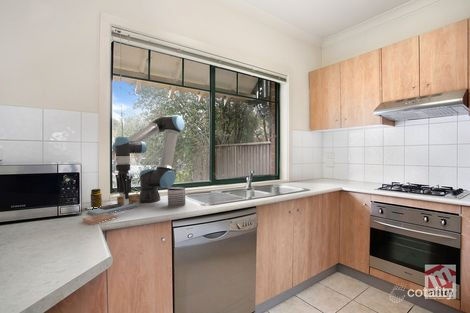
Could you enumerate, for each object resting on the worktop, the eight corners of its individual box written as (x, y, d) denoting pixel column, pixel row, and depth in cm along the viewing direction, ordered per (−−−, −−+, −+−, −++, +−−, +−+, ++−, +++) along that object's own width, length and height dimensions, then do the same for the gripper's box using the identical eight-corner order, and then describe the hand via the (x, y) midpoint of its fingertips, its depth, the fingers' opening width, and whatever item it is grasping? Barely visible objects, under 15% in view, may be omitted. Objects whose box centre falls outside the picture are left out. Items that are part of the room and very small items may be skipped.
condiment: (104, 206, 150) (104, 188, 150) (92, 209, 142) (91, 190, 142) (97, 205, 153) (96, 188, 153) (84, 208, 145) (84, 190, 145)
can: (164, 205, 151) (164, 187, 150) (180, 202, 158) (179, 185, 158) (172, 208, 142) (172, 189, 142) (188, 205, 150) (188, 187, 149)
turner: (135, 201, 140) (134, 193, 140) (140, 202, 137) (140, 194, 137) (99, 208, 123) (99, 199, 123) (105, 210, 119) (105, 200, 119)
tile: (106, 212, 128) (82, 218, 118) (116, 215, 122) (92, 221, 112) (106, 216, 128) (83, 222, 118) (116, 219, 122) (92, 225, 112)
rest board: (126, 204, 155) (125, 202, 155) (137, 206, 147) (137, 204, 147) (87, 213, 135) (87, 210, 134) (98, 216, 127) (98, 213, 127)
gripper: (109, 164, 132) (110, 204, 132) (124, 164, 123) (126, 207, 124) (121, 163, 138) (122, 201, 139) (137, 163, 129) (138, 204, 130)
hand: (124, 204), depth 131 cm, fingers closed on turner, 3 cm apart
